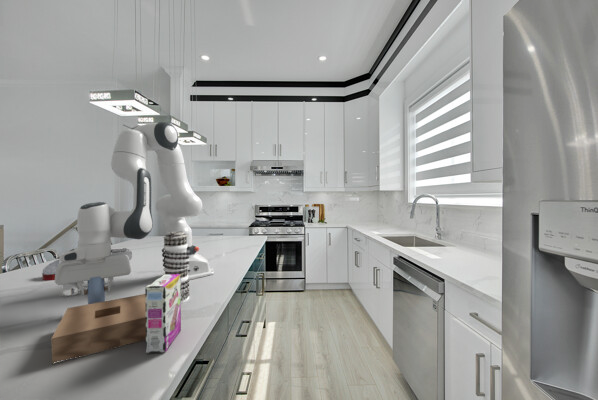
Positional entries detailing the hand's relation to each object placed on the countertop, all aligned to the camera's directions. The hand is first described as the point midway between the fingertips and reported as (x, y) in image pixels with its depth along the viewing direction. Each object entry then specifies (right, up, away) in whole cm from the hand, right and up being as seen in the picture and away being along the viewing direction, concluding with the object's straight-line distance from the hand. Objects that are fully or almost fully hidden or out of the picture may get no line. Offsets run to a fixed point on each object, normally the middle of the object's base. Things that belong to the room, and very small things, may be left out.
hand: (96, 292), depth 90 cm
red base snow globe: (-49, -7, +39) cm, 63 cm away
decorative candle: (+23, -6, +9) cm, 25 cm away
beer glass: (-22, -7, +17) cm, 29 cm away
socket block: (+14, -6, -15) cm, 21 cm away
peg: (0, -6, 0) cm, 6 cm away
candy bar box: (+33, -7, -19) cm, 38 cm away
